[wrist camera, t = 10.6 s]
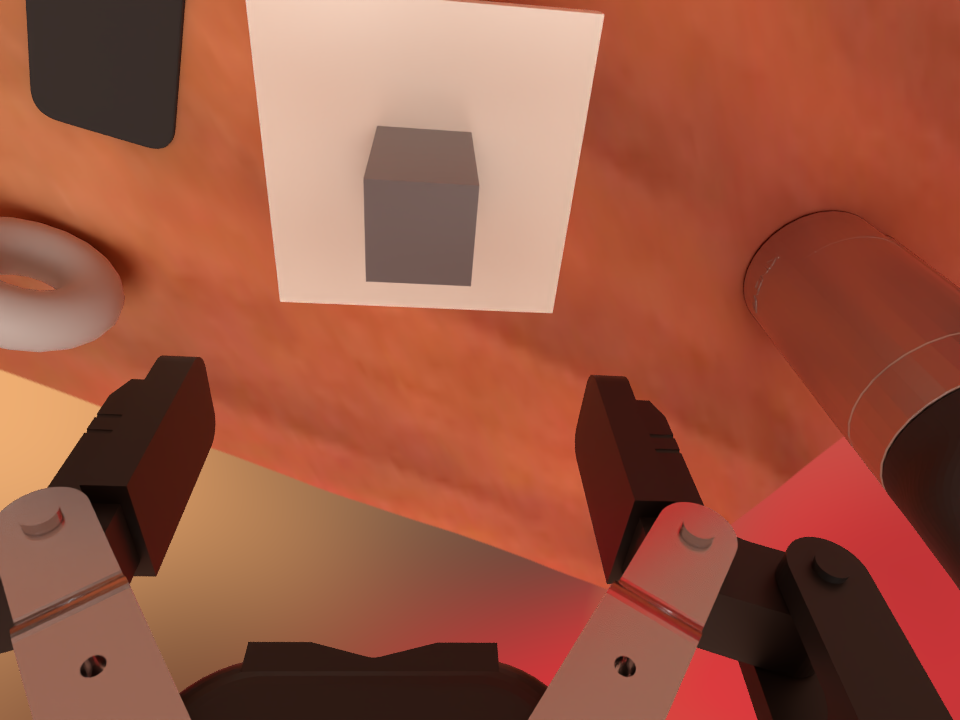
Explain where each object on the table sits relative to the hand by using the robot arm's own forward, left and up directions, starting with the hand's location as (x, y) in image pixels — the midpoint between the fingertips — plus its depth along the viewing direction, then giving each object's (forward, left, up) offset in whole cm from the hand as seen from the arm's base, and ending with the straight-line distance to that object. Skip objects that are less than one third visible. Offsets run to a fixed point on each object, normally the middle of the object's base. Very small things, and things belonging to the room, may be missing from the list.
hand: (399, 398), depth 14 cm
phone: (+16, -3, -28) cm, 33 cm away
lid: (0, 0, -15) cm, 15 cm away
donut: (+22, +11, -28) cm, 37 cm away
